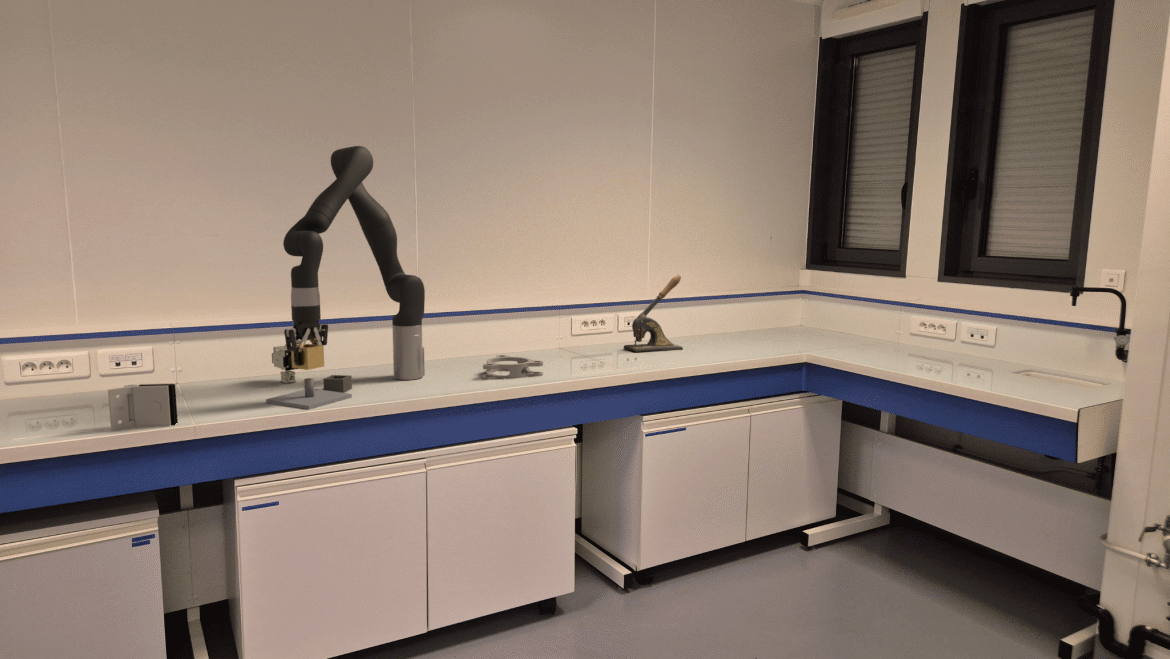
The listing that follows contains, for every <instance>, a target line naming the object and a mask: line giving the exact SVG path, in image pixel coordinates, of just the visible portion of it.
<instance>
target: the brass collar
mask: <svg viewBox="0 0 1170 659" xmlns="http://www.w3.org/2000/svg"><path fill="white" fill-rule="evenodd" d="M298 346H299V345H298ZM324 346H325V345H316V344H312V343H306V344H305V345H304V346H303V348H302V357H303V365H301V366H297V365H295V363H294V352H293V351H291V356H292V368H296V369H295V370H305V371H309V370H315V369H318V368H325V350H324V349H325V348H324Z"/></svg>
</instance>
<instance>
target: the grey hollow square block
mask: <svg viewBox="0 0 1170 659" xmlns="http://www.w3.org/2000/svg"><path fill="white" fill-rule="evenodd" d="M352 379H353V378H352V375H348V374H347V375H345V374H344V375H343V374H337V375H336V374H330V375H329V376H327V377H325V378H323V390H327V391H334V392H341V393H347V392H348V391H350V390H352V389H353V383H352V381H353V380H352Z"/></svg>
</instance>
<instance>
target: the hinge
mask: <svg viewBox="0 0 1170 659" xmlns="http://www.w3.org/2000/svg"><path fill="white" fill-rule="evenodd" d="M107 392H108V393H107V394H108V407H109V421H110V431H112V432H115V431H116V432H117V431H121V430H126V429H132V428H155V426H161V427H171V426H176V425H177V424H176V423H179V422H178V408H177V392H176V383H173V382H170V383H169V382H167V383H139V384H126V385H124V386H123V387H116V388H110V389H109V388H108V389H107ZM117 396H119V397H118V398H117ZM119 421H121V423H119ZM175 424H176V425H175ZM170 425H171V426H170Z"/></svg>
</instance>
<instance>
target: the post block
mask: <svg viewBox="0 0 1170 659" xmlns="http://www.w3.org/2000/svg"><path fill="white" fill-rule="evenodd" d="M303 381H304V382H303V383H304V389H302V390H298V391H294V392H289V393H286V394H281V395H278V396H274V397H273V396H272V397H270V398H266V399H265V403H267V404H273V405H278V406H284V407H291V408H297V409H303V410H304V409H306V410H312V409H316V408H318V407H323V406H326V405H330V404H333V403H336V402H337V403H338V402H340V401H344V400H347V399H350V398H351V399H352V396H353V394H352V393H347V392H344V393H341V392H334V391H327V390H324V389H320V388H319V389H318V388H315V387H314V386H315V385H314V384H315V383H314V382H315V379H314V378H312V377H307V378H304V380H303Z"/></svg>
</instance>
